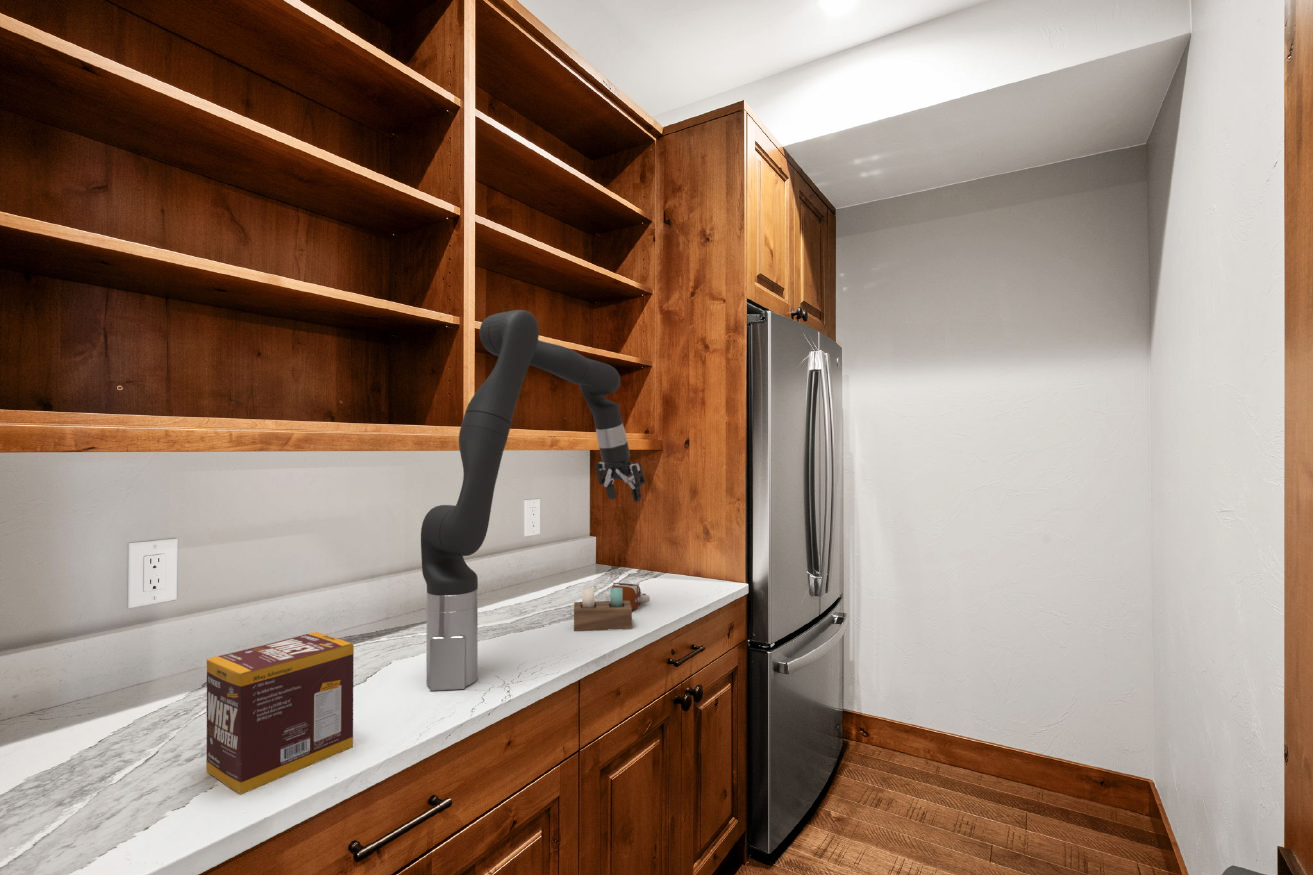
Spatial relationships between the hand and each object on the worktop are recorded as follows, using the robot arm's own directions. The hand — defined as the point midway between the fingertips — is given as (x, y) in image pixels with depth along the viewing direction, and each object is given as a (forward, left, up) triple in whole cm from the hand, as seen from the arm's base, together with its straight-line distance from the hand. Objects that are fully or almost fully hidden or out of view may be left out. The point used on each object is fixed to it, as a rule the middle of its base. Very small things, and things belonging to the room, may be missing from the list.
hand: (625, 499), depth 164 cm
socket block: (-10, +6, -30) cm, 32 cm away
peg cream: (-10, +10, -26) cm, 30 cm away
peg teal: (-10, +3, -26) cm, 28 cm away
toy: (+9, -2, -31) cm, 32 cm away
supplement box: (-70, +54, -31) cm, 93 cm away
